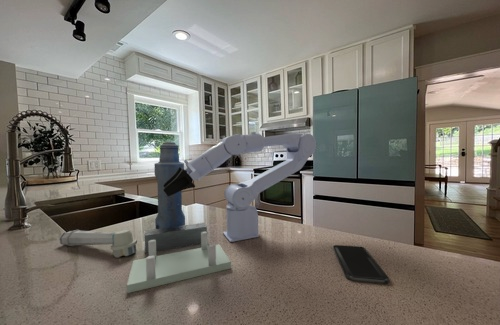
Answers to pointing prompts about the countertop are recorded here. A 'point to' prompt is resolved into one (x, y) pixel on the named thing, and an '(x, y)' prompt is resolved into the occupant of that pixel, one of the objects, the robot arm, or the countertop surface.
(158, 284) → the peg rack
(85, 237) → the pale grey handled tool
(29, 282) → the countertop surface
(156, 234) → the steel bar
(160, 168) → the bottle
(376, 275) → the phone
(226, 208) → the robot arm
